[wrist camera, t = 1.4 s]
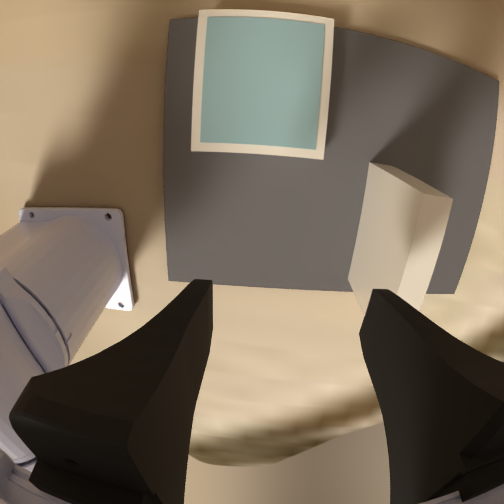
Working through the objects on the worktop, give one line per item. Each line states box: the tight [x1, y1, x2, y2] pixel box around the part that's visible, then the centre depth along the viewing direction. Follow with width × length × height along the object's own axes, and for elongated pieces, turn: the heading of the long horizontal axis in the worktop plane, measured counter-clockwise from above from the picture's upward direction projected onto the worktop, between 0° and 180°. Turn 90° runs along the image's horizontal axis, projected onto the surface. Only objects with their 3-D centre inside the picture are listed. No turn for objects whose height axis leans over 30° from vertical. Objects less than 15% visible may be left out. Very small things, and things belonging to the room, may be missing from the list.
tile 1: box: [191, 9, 334, 160], centre depth 15 cm, size 7×8×2 cm
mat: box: [164, 18, 499, 294], centre depth 18 cm, size 22×17×1 cm
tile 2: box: [348, 162, 453, 317], centre depth 16 cm, size 2×8×7 cm, turn 176°
